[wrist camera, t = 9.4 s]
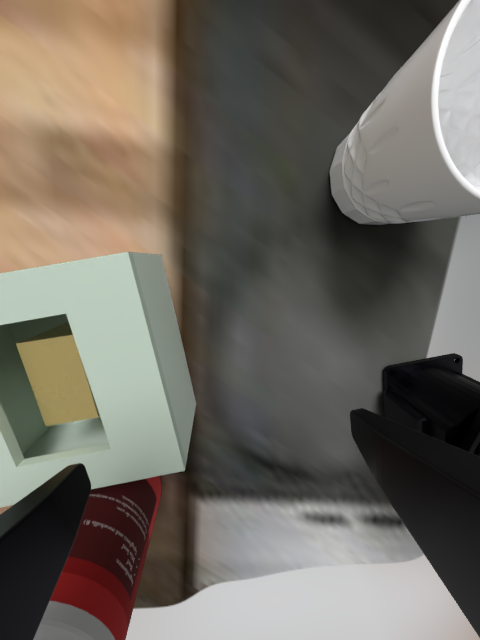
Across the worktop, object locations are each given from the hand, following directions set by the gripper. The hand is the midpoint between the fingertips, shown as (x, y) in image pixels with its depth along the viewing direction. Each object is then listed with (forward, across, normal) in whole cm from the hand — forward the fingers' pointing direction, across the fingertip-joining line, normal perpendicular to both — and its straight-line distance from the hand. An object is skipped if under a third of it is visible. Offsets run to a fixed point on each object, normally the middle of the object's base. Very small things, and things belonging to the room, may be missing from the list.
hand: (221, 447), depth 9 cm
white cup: (+12, -13, -10) cm, 20 cm away
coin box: (+12, +9, -1) cm, 15 cm away
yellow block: (+11, +9, -1) cm, 14 cm away
